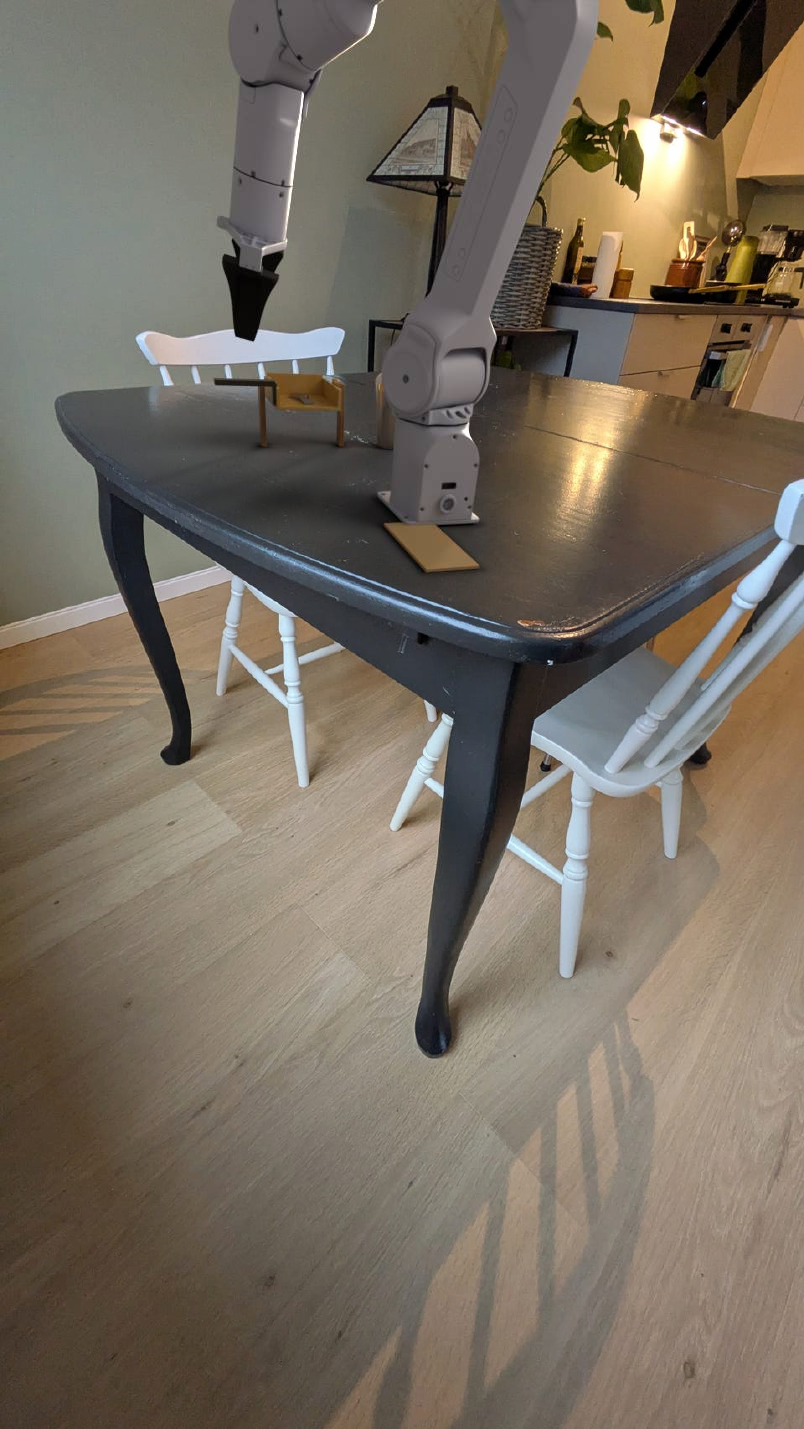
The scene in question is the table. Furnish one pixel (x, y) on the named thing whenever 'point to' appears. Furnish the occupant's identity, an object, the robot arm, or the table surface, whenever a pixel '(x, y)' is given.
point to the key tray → (294, 390)
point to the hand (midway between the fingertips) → (247, 327)
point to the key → (302, 398)
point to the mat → (431, 547)
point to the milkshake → (384, 418)
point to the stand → (263, 416)
